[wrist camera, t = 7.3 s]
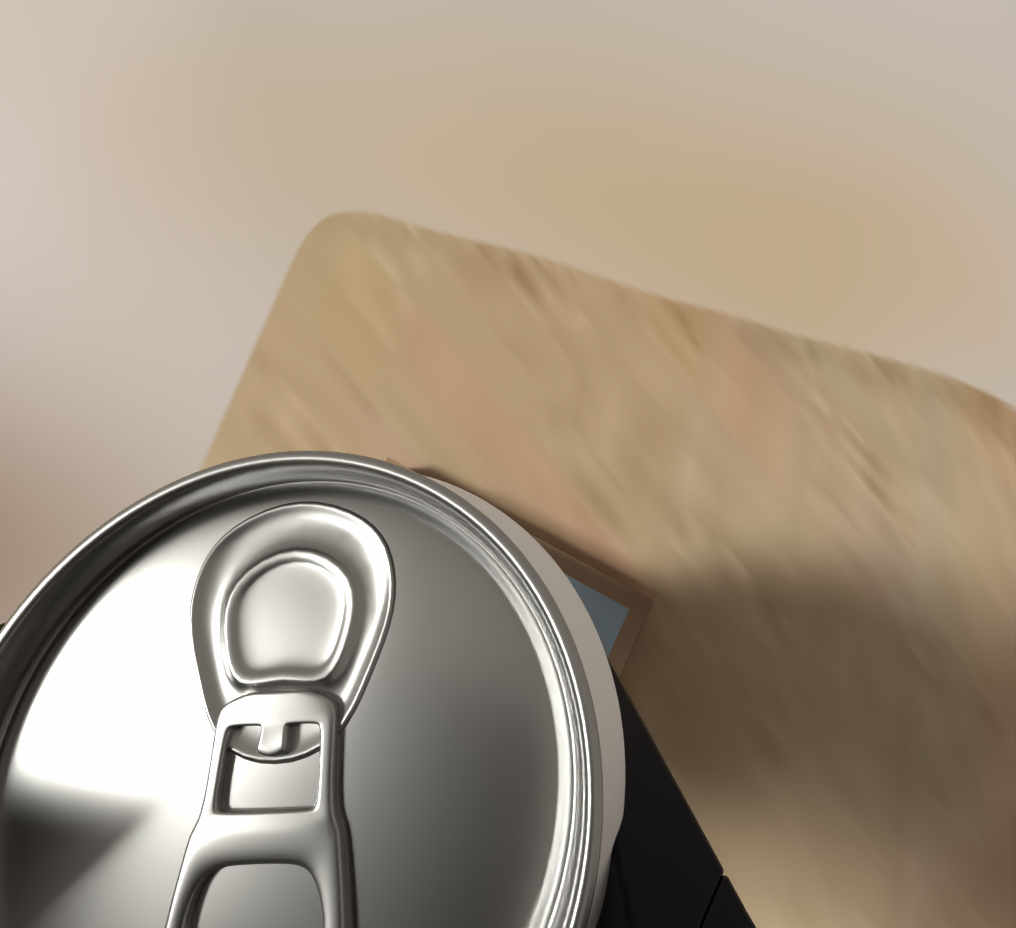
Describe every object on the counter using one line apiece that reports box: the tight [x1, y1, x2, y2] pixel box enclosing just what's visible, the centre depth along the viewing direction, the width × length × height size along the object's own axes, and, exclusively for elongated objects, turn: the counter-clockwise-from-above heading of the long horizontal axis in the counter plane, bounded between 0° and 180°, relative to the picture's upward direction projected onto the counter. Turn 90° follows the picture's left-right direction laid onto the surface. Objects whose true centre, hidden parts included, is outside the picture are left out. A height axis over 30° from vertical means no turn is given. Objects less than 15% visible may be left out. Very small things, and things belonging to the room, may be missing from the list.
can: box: [0, 451, 625, 928], centre depth 10 cm, size 6×6×12 cm
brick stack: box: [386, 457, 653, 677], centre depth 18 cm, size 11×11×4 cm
